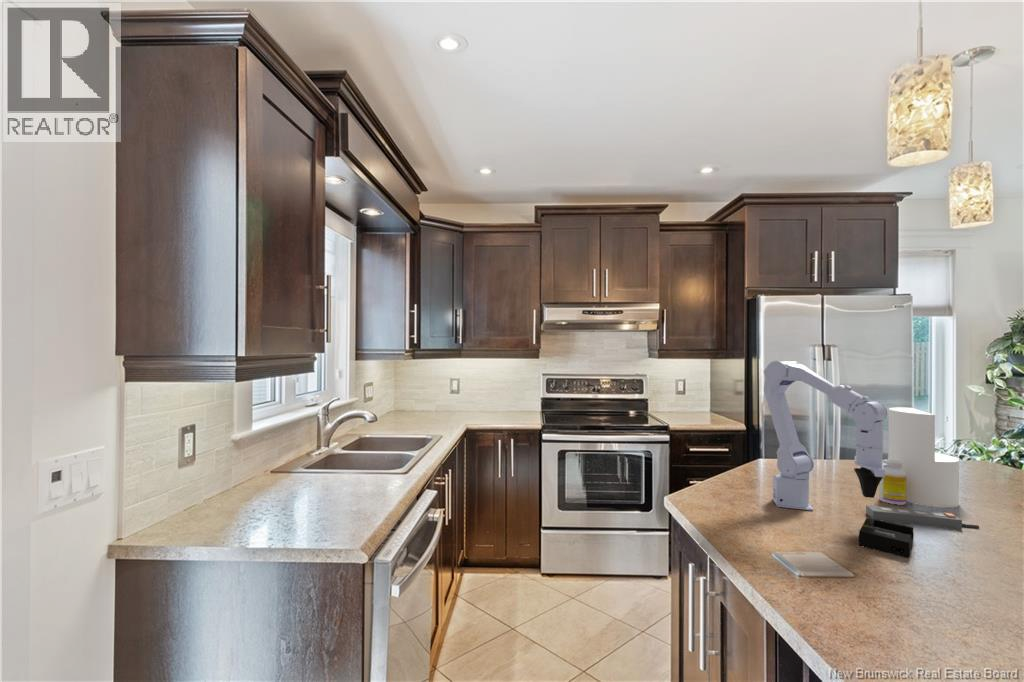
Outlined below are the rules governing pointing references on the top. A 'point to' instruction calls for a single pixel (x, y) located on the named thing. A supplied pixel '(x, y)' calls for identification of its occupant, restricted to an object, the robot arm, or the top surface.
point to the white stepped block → (922, 459)
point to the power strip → (916, 517)
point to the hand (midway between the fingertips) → (868, 496)
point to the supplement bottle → (893, 483)
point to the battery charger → (886, 537)
